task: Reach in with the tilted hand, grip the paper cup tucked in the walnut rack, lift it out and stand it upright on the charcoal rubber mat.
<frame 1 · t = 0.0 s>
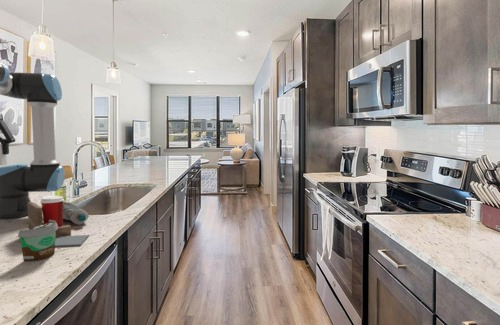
charcoal mat: (69, 241, 114), on the countertop
walnut rack: (53, 233, 123), on the countertop
paper cup: (53, 234, 123), resting in walnut rack
food container: (45, 256, 100), on the countertop
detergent: (72, 221, 140), on the countertop
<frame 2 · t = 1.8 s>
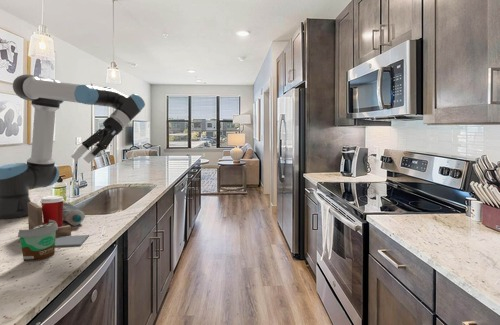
hand: (79, 159, 127), 28 cm above the countertop, fingers open, 13 cm apart
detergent: (69, 222, 139), on the countertop
everything else where it was.
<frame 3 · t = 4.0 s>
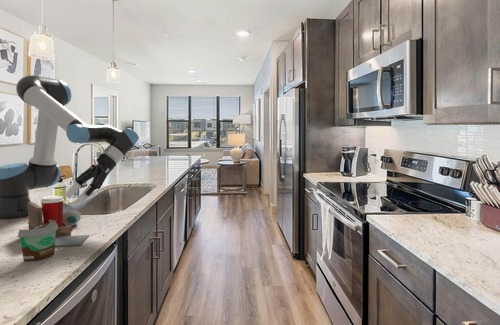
hand: (72, 199, 126), 13 cm above the countertop, fingers open, 13 cm apart
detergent: (65, 222, 138), on the countertop
everything else where it was.
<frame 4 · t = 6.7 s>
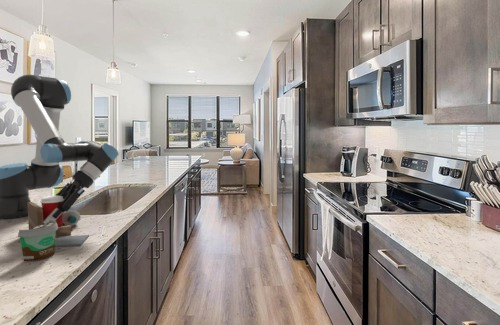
hand: (42, 222, 120), 5 cm above the countertop, fingers closed on paper cup, 8 cm apart
paper cup: (53, 234, 123), resting in walnut rack, touching gripper
everything else where it was.
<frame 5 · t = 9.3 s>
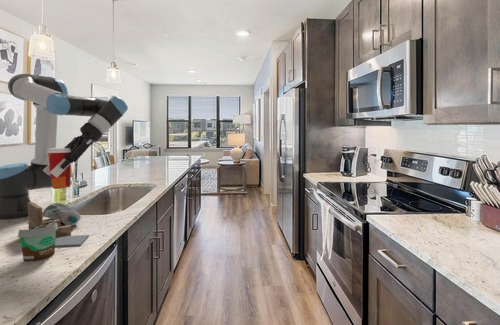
hand: (49, 174, 113), 24 cm above the countertop, fingers closed on paper cup, 8 cm apart
paper cup: (61, 187, 116), point 19 cm above the countertop, touching gripper
everything else where it was.
when the fingers open (7 cm above the countertop, at t = 11.9 s): paper cup drops 1 cm, resting on charcoal mat.
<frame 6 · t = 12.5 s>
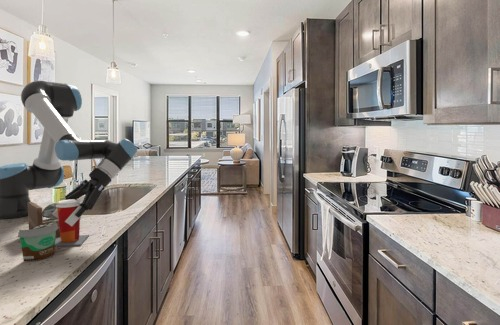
hand: (61, 220, 111), 8 cm above the countertop, fingers open, 13 cm apart
paper cup: (70, 240, 114), resting on charcoal mat
everything else where it was.
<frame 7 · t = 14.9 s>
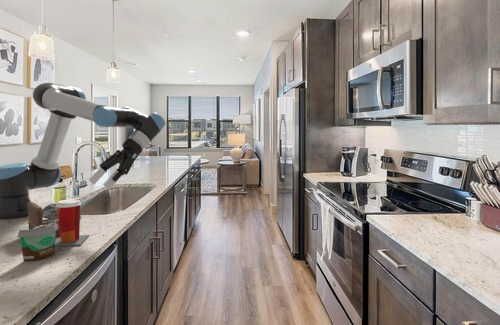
hand: (98, 184, 120), 19 cm above the countertop, fingers open, 13 cm apart
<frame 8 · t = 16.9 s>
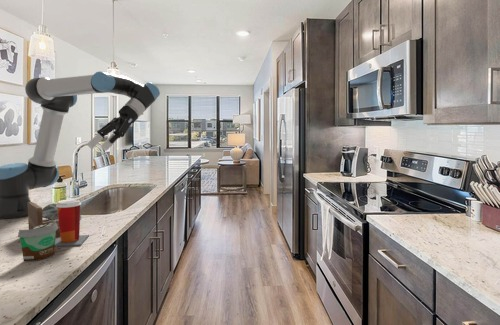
hand: (96, 147, 126), 33 cm above the countertop, fingers open, 13 cm apart
at the end: paper cup inside the target area on the charcoal mat (0.2 cm from its centre), point 0.4 cm above the charcoal mat's base; paper cup tilted 0°; the gripper is holding nothing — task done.
